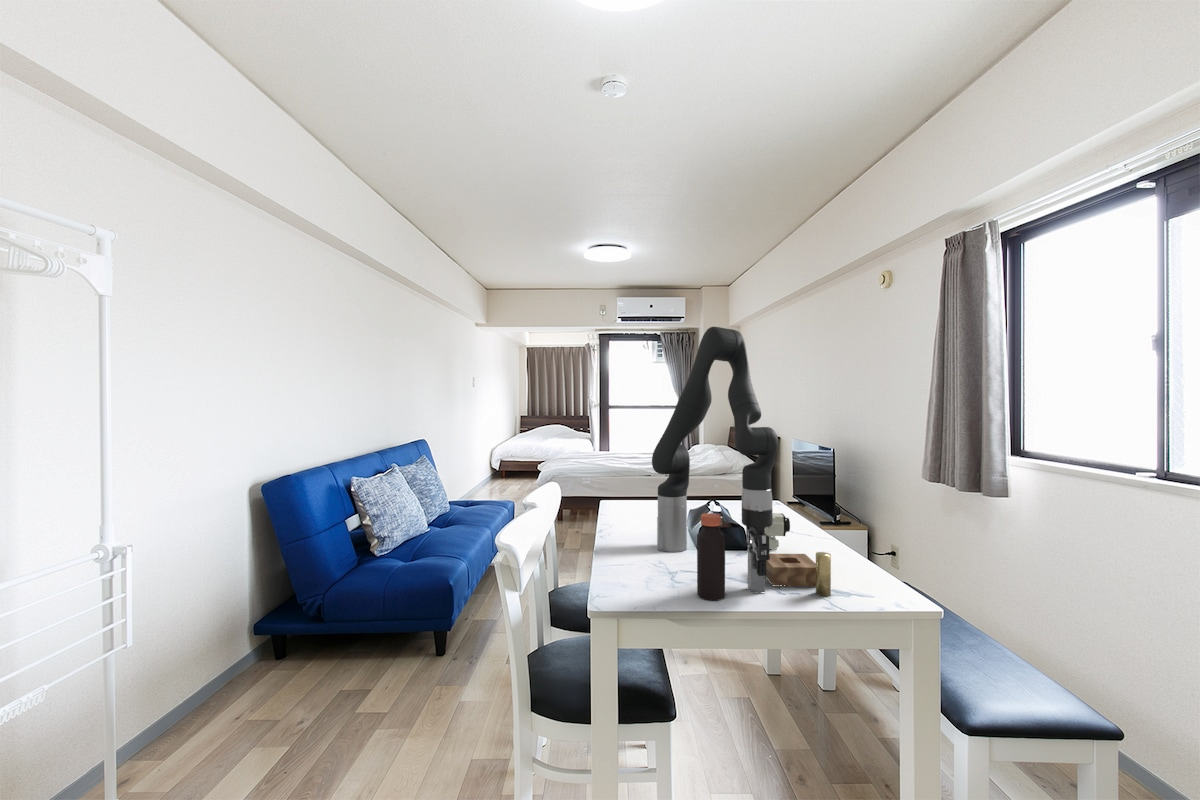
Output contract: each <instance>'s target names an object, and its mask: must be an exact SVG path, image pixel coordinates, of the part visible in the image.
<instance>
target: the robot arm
mask: <svg viewBox="0 0 1200 800" xmlns="http://www.w3.org/2000/svg"><path fill="white" fill-rule="evenodd" d="M746 346H747V345H746V342H745V338H744V337H743V334H742V333H741V332H740V331H738V330H736V329H732V328H725V327H721V326H720V327H719V326H711V327H709V328H707V329H706V330H705V332H704V334H703V335H702V338H701V340H700V342H699V345H698V349H697V352H696V356H695V358H694V362H693V364H692V366H691V367H692V368H691V370H690V372H689V373H690V374H689V375H688V378H687V379H686V382H685V385H684V388H683V389H682V392H681V394H680V396H679V398H678V401H677V402H676V406H675V408H674V409H673V413H672V415H671V417H670V419H669V422H668V424H667V426H666V428H665V430H664V431H663V432H664V433H663V434H662V435H661V438H660V439H659V441H658V442H657V444H656V446H655V448H654V450H653V452H652V457H651V465H652V469H653V471H654V472H655V473H657V474H659V475H668V476H667V479H666V480H665V481H663V482H661V483H660V484H659V485H658V487H657V517H656V524H657V525H656V526H657V527H656V531H657V532H656V538H657V541H656V542H657V543H656V545H657V550H658V551H664V552H667V553H668V552H670V553H676V552H683V551H686V550H687V548H688V547H687V546H688V541H687V540H688V537H687V535H688V533H687V531H688V528H687V527H688V524H687V523H688V519H687V518H688V517H687V516H688V512H687V509H688V506H687V505H688V504H687V503H688V502H687V498H688V496H687V495H688V494H687V493H688V492H687V491H688V488H689V485H690V467H691V463H690V462H691V460H690V458H691V457H690V454H689V453H690V452H689V450H688V449H687V447H685V445H683V444H681V443H682V442H683V441H684V440H685V439H686V438H687V437H688V436H689V435H690V434H691V433H693V431H694V430H695V429H697V428H698V427H699V426H700V425H701V423H703V421H704V419H705V417H706V415H707V413H708V411H709V408H710V406H711V404H712V398H713V397H712V392H711V391H712V390H711V385H710V380H709V375H710V371H711V368H712V366H713V363H714V361H719V362H728V364H729V366H730V367H731V371H732V377H731V380H730V383H729V387H728V391H727V400H728V403H729V405H730V410H731V412H732V413H731V414H732V416H733V421H734V422H733V423H734V446H735V448H736V450H737V452H739V454H741V455H743V456H757V459H756V460H755V461H754V462H753V463H750V464H746V465H744V466H743V467H742V471H741V472H742V474H741V475H742V477H741V478H742V479H741V482H742V483H741V484H742V488H741V489H742V491H741V523H742V525H744V526H745V527H746V528H745V530H746V531H745V532H746V533H745V535H746V537H745V539H746V540H745V544H746V546H747V550H748V549H753V551H754V552H755V553H756V559H757V575H758V576H765V577H766V574H767V570H766V561H767V560H769V559H770V557H769V554H770V550H769V536H768V535H767V534H766V533H765V530H764V529H765V528H766V527H770V526H771V525H772V524H773V515H772V513H773V493H772V470H773V467H774V462H775V459H776V454H777V452H778V448H779V439H778V434H777V433H776V430H774V429H773V428H771V427H770V426H769V427H768V426H761V427H760V426H759V427H755V426H754V427H753V426H752V427H750V425H753V424H756V423H757V422H759V421H760V420H761V417H762V411H761V408H760V405H759V402H758V399H757V396H756V393H755V389H754V387H753V384H752V379H751V373H750V372H751V371H750V366H749V365H750V364H749V360H748V352H747V347H746ZM761 552H763V553H764V555H761Z"/></svg>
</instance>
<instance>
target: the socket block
mask: <svg viewBox="0 0 1200 800" xmlns="http://www.w3.org/2000/svg"><path fill="white" fill-rule="evenodd" d="M769 557H770V559H769V560H767V561H766V570H767V574H766V576H765V578H766V577H767V578H768V579H769V580H768V579H767V578H766V579H767V580H768V582H769V581H770V582H771V583H772V584H771V583H770V582H769V583H770V584H771V586H772V585H779V586H778V587H780V585H782V586H784V585H785V586H816V561H814V560H812V559H811V558H810V557H809V555H807V554H806V553H769Z"/></svg>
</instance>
